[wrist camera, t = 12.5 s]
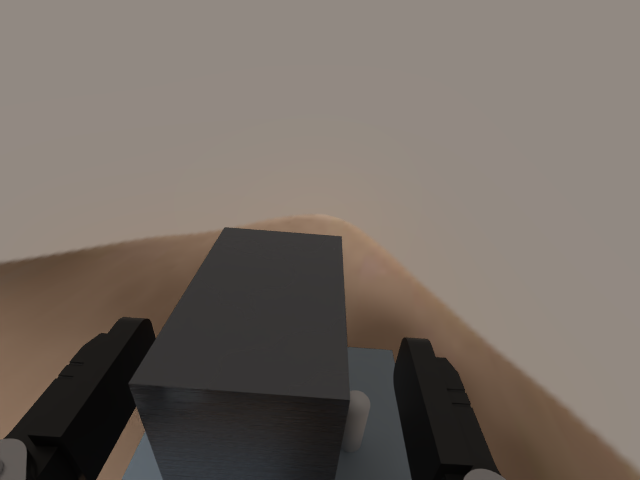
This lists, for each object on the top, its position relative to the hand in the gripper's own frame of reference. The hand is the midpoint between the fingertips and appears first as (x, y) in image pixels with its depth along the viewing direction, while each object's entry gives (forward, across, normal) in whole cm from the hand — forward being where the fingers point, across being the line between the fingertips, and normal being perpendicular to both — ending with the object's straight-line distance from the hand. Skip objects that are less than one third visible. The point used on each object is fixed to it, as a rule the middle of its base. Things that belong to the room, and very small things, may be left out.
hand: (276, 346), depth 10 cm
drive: (-1, 0, +8) cm, 8 cm away
